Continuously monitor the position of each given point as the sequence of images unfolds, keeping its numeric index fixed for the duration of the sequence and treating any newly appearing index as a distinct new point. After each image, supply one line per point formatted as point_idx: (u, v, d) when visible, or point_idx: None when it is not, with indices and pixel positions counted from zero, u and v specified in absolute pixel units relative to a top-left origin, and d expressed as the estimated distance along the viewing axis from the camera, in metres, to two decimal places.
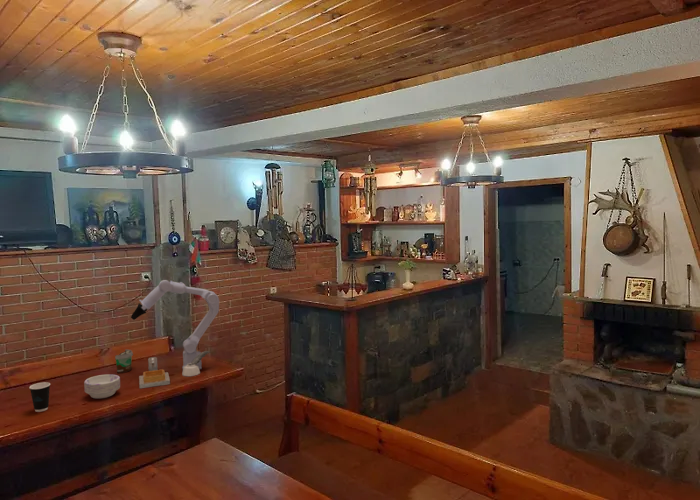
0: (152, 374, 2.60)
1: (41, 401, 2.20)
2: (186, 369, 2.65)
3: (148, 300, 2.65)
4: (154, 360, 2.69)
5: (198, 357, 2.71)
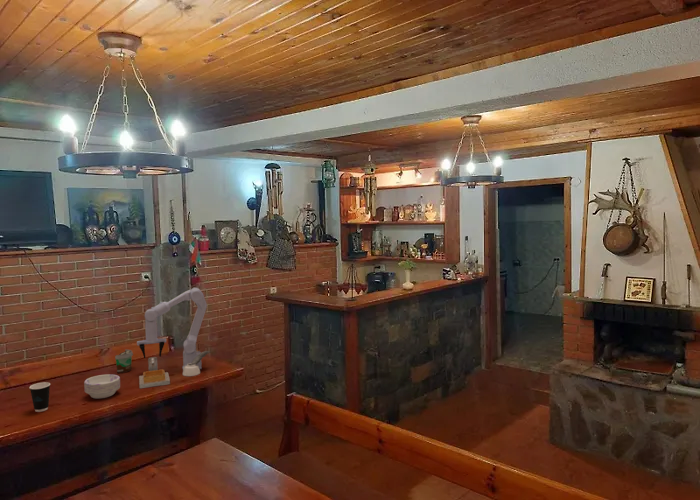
0: (152, 374, 2.60)
1: (41, 401, 2.20)
2: (186, 369, 2.65)
3: None
4: (154, 360, 2.69)
5: (198, 357, 2.71)
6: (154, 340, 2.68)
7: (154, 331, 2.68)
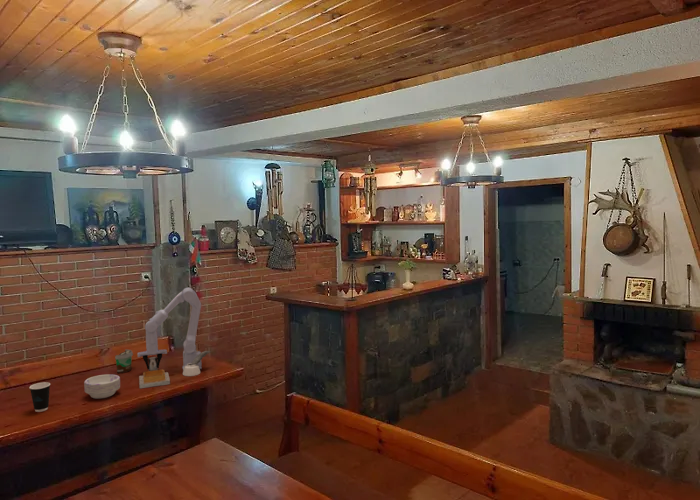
0: (152, 374, 2.60)
1: (41, 401, 2.20)
2: (187, 369, 2.66)
3: None
4: (154, 360, 2.69)
5: (198, 357, 2.71)
6: (155, 351, 2.69)
7: (155, 342, 2.68)
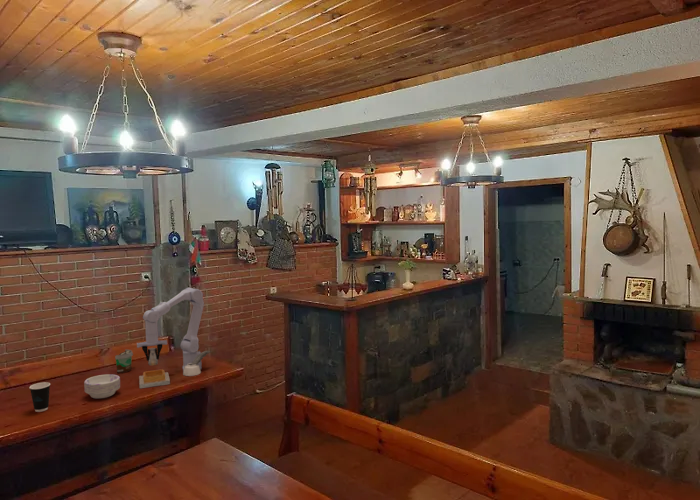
0: (152, 374, 2.60)
1: (41, 401, 2.20)
2: (187, 369, 2.66)
3: None
4: (154, 351, 2.61)
5: (199, 357, 2.71)
6: (154, 342, 2.60)
7: (156, 332, 2.61)
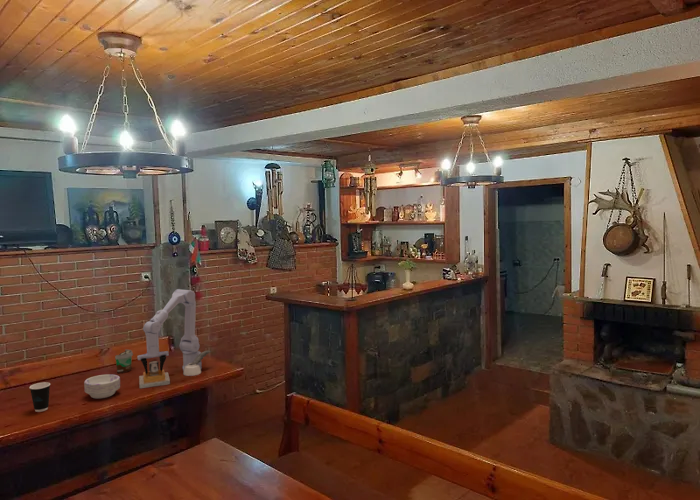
0: None
1: (41, 401, 2.20)
2: (187, 369, 2.66)
3: None
4: (156, 364, 2.55)
5: (199, 357, 2.72)
6: (156, 354, 2.54)
7: (158, 343, 2.55)
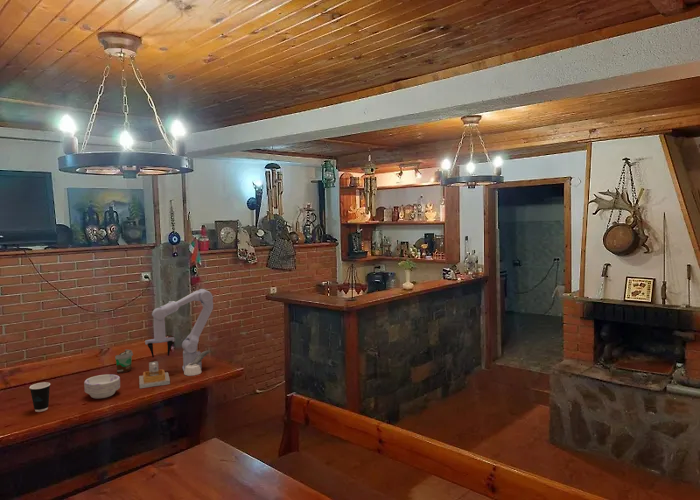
0: None
1: (41, 401, 2.20)
2: (188, 368, 2.66)
3: None
4: (156, 364, 2.55)
5: (199, 356, 2.72)
6: (162, 339, 2.67)
7: (163, 330, 2.67)
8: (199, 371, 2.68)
